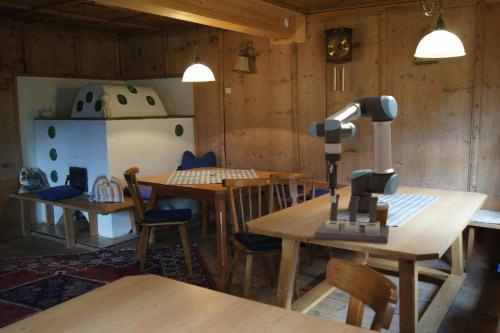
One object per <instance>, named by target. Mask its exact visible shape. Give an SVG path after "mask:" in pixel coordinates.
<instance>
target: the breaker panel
mask: <svg viewBox="0 0 500 333" xmlns="http://www.w3.org/2000/svg"><path fill="white" fill-rule="evenodd" d="M314 234H315V239H320V240H334V241H335V240H336V241H350V242H351V241H352V242H365V243H381V244H383V243H384V244H388V242H389V235H390V226H389V225H386V226H380V222H379V221H376V223H369V220H368V221H367V220H366V223H365V224H361V220H357V219H356V222H349V219H347V221H346V223H342V219H338V218H337V221H330V218H329V219H327V220H326V222H321V224H320V225H319V226H318V228H317V229H316V231H315V233H314Z"/></svg>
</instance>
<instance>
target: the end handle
mask: <svg viewBox="0 0 500 333" xmlns="http://www.w3.org/2000/svg"><path fill="white" fill-rule="evenodd" d="M377 202H379V196H372V197H370V212H369V214H368V215H369V216H368V221H369V223H376V213H377Z"/></svg>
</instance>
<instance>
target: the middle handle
mask: <svg viewBox="0 0 500 333" xmlns="http://www.w3.org/2000/svg"><path fill="white" fill-rule="evenodd" d="M350 200H351V206H350V211H349V218H348V220H349V222H356V220H357V218H358V217H357V214H358V212H357V204H358V201H359V196H351V195H350V196H349V201H350Z"/></svg>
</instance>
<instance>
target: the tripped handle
mask: <svg viewBox="0 0 500 333" xmlns="http://www.w3.org/2000/svg"><path fill="white" fill-rule="evenodd" d="M339 199H340V194H337V193H336V203H334V202H330V212H329V213H330V217H329V219H330V221H337V219H338V211H339Z"/></svg>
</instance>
